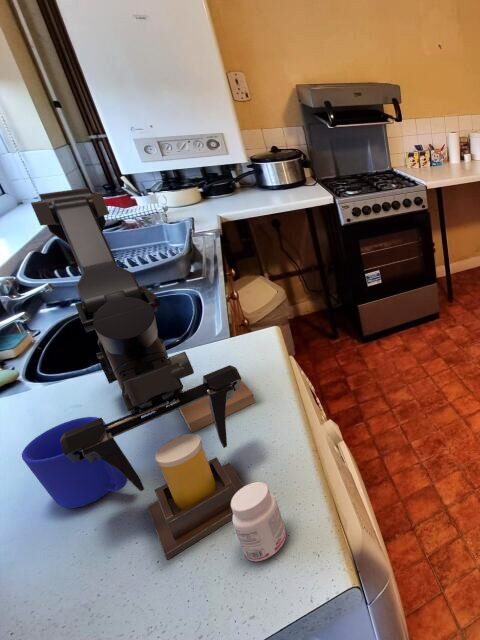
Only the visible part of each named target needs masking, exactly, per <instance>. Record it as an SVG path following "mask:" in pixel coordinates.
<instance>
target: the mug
mask: <svg viewBox="0 0 480 640" xmlns="http://www.w3.org/2000/svg"><path fill="white" fill-rule="evenodd" d="M99 418H100V417H97V416H86V417H84V416H83V417H79V418H74V419H71V420H69V421H68V420H67V421H65V422H62V423H60V424H58V425H55V426H53V427H51V428H49V429H47V430H46V431H44V432H42V433H41V434H39V435H37V436H35V438H34V439H32V440H31V441H30V442H29V443H28V444H27V445H26V446H25V447H24V448H23V451H22V452H21V458H22V461H23V462H24V463H25V465H26V466H27V467H28V469H29V470H30V471H31V473H32V474H33V475H34V476H35V478H36V479H37V480H38V482H39V483H40V484H41V486H42V487H43V488H44V489H45V491H46V492H47V493H48V495H49V496H50V497H51V499H52V500H53V501H54V502H55V504H57V506H59V507H61V508H65V509H75V508H79V507H80V508H81V507H83V506H86V505H89V504H92V503H93V502H96V501H97V500H99V499H100V498H102V497H104V496H105V495H106V494H107V493H109V492H118V491H121V489H123V488H124V487H125V486H126V485H127V483H128V479H127V478H126V477H125V476H124V475H123V474H122V473H121V472H120V471H119V470H117V469H116V468H115V467H113V466H111V465H110V464H108V463H107V462H105V461H104V460H102V459H100V460H97V461H95V462H92V463H90V462H89V461H88V460H87V459H84V460H82V461H79V462H75V463H74V462H72V461H71V460H70V459H69V458H67V457H66V456H65V454H64V451H63V449H62V446H61V443H60V439H61V437H62V436H63V434H64V432H67V431H69V430H72V429H74V428H77V427H79V426H82V425H84V424H86V423H89V422H91V421H94V420H96V419H99Z"/></svg>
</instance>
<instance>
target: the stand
mask: <svg viewBox="0 0 480 640" xmlns="http://www.w3.org/2000/svg"><path fill="white" fill-rule="evenodd" d="M207 461H208V463H209V466H210V469H211V472H212V474H213V477H214V480H215V482H216V485H217V488H218V490H217V491H215V492H214V493H212V494H210V495H208V496H207V497H205V498H203V499H201V500H200V501H198V502H196V503H194V504H193V505H191V506H189V507H187V508H186V509H184V510H182V511H179V510H178V508H177V506H176V504H175V501H174V499H173V497H172V494H171V492H170V489H169V487H168V485H167V482H166V483H164V484H162V485H160V486H159V487H157V488H155V489H154V494H155V496H156V498H157V501H154V502H153V503H151V504H149V505H148V506H147V509H148V512H149V515H150V519H151V520H152V524H153V526H154V530H155V533H156V535H157V537H158V540H159V544H160V546H161V549H162V551H163V555H164V557H165V559H166V561H168V560H170V559H172V558H173V557H174V556H176V555H178V554H180V553H182V552H183V551H184V550H186V549H188V548H189V547H191V546H193V545H194V544H196V543H197V542H199V541H200V540H202V539H204V538H205V537H207V536H208V535H210V534H211V533H213V532H215V531H216V530H218V529H219V528H221V527H222V526H224V525H226V524H227V523H229V522H230V521H233V520H232V518H233V511H232V508H231V500H232V498H233V496H234V495H235V494H236V493H237V492H238V491H239V490H240V489H241V488H243V487H244V486H245V485H244V484H243V483H242V481H241V479H240V478H239V476H238V475H237V473H236V472H235V469H234V468H233V467H232V464H231V463H230V462H226V463H225V464H223V465H222V463H221V462H220V460H219V459H218V457H217V456H216V457H214V458H212V459H210V460H207Z"/></svg>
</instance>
